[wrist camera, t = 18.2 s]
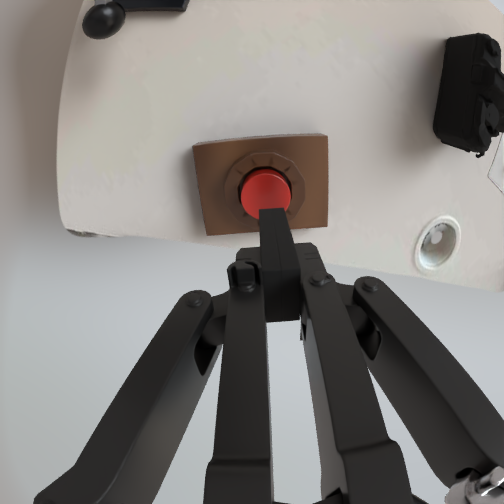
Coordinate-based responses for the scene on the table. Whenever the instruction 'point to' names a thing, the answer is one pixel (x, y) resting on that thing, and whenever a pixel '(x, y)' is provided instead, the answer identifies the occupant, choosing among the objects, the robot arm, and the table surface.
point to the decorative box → (498, 167)
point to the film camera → (470, 94)
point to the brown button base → (256, 158)
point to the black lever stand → (153, 5)
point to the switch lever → (103, 19)
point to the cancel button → (264, 192)
